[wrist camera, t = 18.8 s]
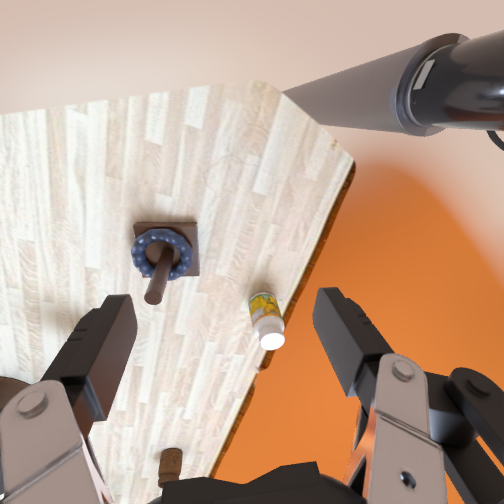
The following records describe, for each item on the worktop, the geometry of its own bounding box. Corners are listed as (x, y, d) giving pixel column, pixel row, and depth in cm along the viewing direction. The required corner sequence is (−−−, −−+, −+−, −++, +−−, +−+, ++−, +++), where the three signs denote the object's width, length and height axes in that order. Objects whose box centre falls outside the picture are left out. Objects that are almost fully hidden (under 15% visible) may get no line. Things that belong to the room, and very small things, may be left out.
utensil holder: (156, 454, 70) (146, 514, 60) (171, 444, 69) (163, 504, 58) (173, 459, 73) (166, 517, 62) (188, 450, 71) (183, 507, 61)
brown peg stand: (196, 222, 38) (189, 265, 27) (199, 271, 43) (194, 324, 32) (135, 222, 37) (102, 267, 26) (144, 272, 41) (119, 328, 30)
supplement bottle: (242, 303, 47) (248, 343, 39) (263, 286, 46) (273, 324, 38) (261, 316, 50) (270, 357, 41) (281, 301, 48) (295, 339, 40)
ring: (191, 226, 37) (190, 231, 35) (194, 275, 41) (193, 282, 40) (128, 226, 36) (124, 231, 34) (138, 277, 40) (135, 283, 38)
